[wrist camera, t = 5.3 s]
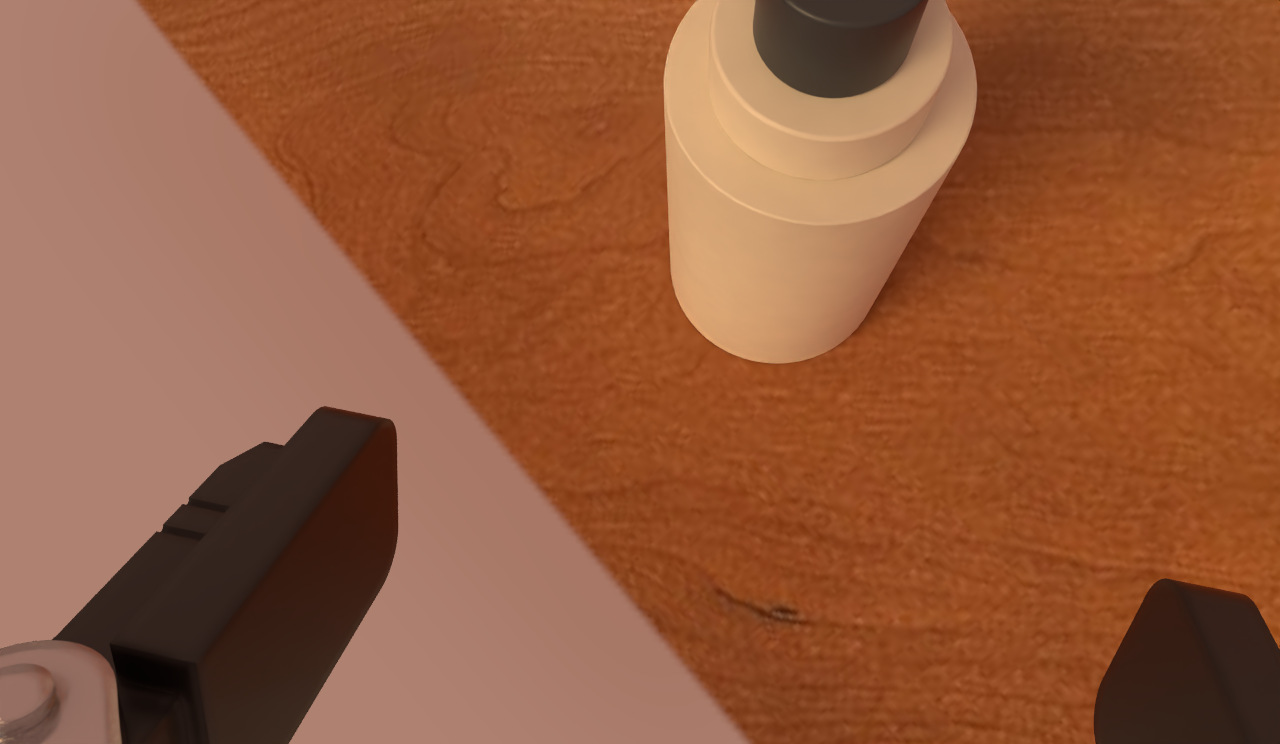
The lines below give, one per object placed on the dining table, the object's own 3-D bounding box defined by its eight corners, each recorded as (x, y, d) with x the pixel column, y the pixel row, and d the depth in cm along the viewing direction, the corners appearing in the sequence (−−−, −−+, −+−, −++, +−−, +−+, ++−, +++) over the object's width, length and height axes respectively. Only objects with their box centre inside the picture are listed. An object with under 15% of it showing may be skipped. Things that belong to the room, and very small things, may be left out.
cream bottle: (651, 342, 26) (622, 86, 14) (691, 153, 27) (698, -232, 15) (863, 382, 25) (1027, 152, 13) (893, 187, 27) (1067, -184, 14)
